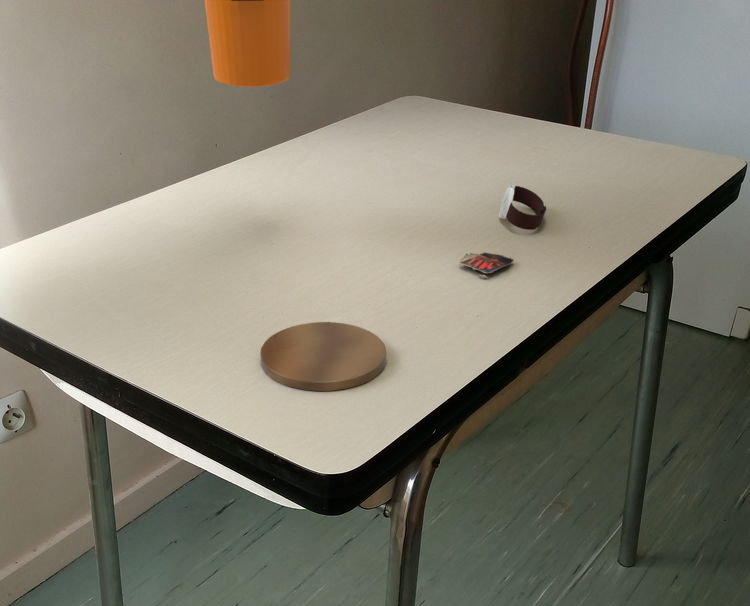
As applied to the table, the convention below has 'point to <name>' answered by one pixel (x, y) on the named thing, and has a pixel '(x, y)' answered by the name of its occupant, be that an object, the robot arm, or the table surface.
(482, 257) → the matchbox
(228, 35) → the shaker bottle
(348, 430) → the table surface
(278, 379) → the coaster
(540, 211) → the watch
